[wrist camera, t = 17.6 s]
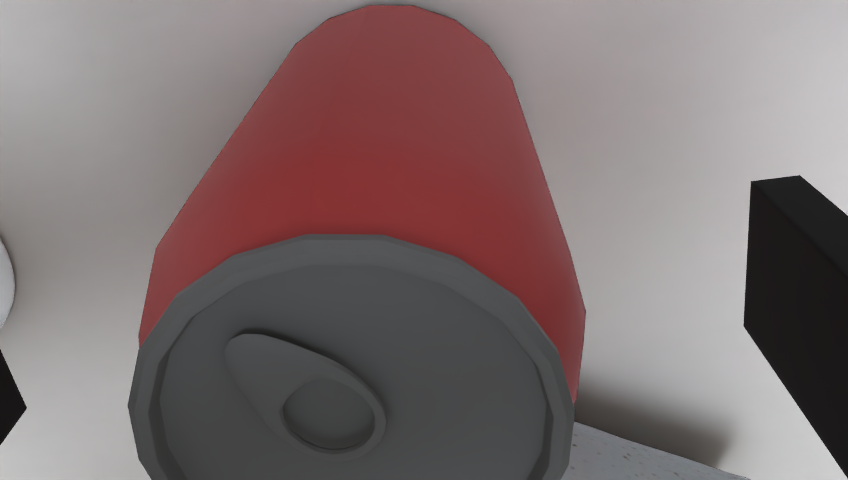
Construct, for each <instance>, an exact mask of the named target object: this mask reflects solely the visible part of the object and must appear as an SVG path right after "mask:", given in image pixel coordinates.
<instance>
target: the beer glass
mask: <svg viewBox="0 0 848 480" xmlns="http://www.w3.org/2000/svg"><path fill="white" fill-rule="evenodd" d="M14 292H15V281H14V273H13V268H12V264H11V261H10V258H9V256H8V253H7V251H6V249H5V247H4V245H3V243H2V241H1V239H0V328H1V327H2V325H3V324H4V322H5V321H6V319H7V317H8V314H9V312H10V310H11V307H12V304H13V300H14Z"/></svg>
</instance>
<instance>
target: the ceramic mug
mask: <svg viewBox="0 0 848 480" xmlns="http://www.w3.org/2000/svg"><path fill="white" fill-rule="evenodd" d="M561 480H750V479H748V478H746V477H742V476H738V475H735V474H731V473H728V472H724V471H721V470H718V469H716V468H713V467H710V466H707V465H704V464H701V463H698V462H695V461H692V460H689V459H686V458H683V457H680V456H677V455H674V454H671V453H667V452H664V451H661V450H658V449H655V448H651V447H648V446H645V445H642V444H639V443H635V442H632V441H629V440H626V439H623V438H620V437H617V436H614V435H612V434H609V433H606V432H604V431H601V430H598V429H595V428H593V427H590V426H586V425H583V424H580V423H577V422H574V425H573V433H572V442H571V450H570V459H569V465H568V467H567V469H566V471H565V473H564V474H563V476H562V478H561Z"/></svg>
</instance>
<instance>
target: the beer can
mask: <svg viewBox="0 0 848 480" xmlns="http://www.w3.org/2000/svg"><path fill="white" fill-rule="evenodd" d="M585 315H586V310H585V307H584V303H583V299H582V295H581V292H580V288H579V284H578V280H577V276H576V273H575V269H574V265H573V261H572V257H571V254H570V250H569V247H568V244H567V241H566V239H565V236H564V233H563V230H562V227H561V224H560V221H559V218H558V215H557V212H556V209H555V206H554V203H553V200H552V197H551V194H550V191H549V188H548V185H547V182H546V179H545V176H544V173H543V170H542V168H541V165H540V162H539V159H538V156H537V153H536V150H535V147H534V144H533V141H532V138H531V135H530V132H529V129H528V126H527V123H526V120H525V117H524V114H523V111H522V108H521V105H520V102H519V100H518V97H517V94H516V91H515V88H514V85H513V82H512V79H511V78H510V77H509V75H508V74H507V72H506V71H505V69H504V68H503V66H502V65H501V63H500V62H499V60H498V59H497V57H496V56H495V54H494V53H493V51H492V50H491V48H490V47H489V46H488V45H487V44H486V43H484V42H483V41H482V40H480V39H479V38H478V37H477V36H475V35H474V34H473V33H471V32H470V31H469V30H467V29H466V28H465V27H463V26H462V25H461V24H459V23H458V22H457V21H456V20H454V19H451V18H448V17H445V16H442V15H439V14H436V13H433V12H430V11H427V10H424V9H422V8H419V7H416V6H385V5H369V6H366V7H363V8H360V9H357V10H354V11H351V12H348V13H345V14H342V15H339V16H336V17H333V18H330V19H328V20H327V21H325V22H324V23H323V24H321V25H320V26H319V27H317V28H316V29H315V30H313V31H312V32H311V33H310V34H308V35H307V36H306V37H304V38H303V39H302V40H300V41H299V42H298V43H296V44H295V46H294V47H293V49H292V50H291V51H290V53H289V54H288V56H287V57H286V59H285V60H284V61H283V63H282V64H281V66H280V67H279V69H278V70H277V72H276V73H275V74H274V76H273V77H272V79H271V80H270V82H269V83H268V84H267V86H266V87H265V89H264V90H263V92H262V93H261V94H260V96H259V97H258V99H257V100H256V102H255V103H254V105H253V106H252V107H251V109H250V110H249V112H248V113H247V115H246V116H245V117H244V119H243V120H242V122H241V123H240V125H239V126H238V128H237V129H236V130H235V132H234V133H233V135H232V136H231V138H230V139H229V140H228V142H227V143H226V145H225V146H224V148H223V149H222V151H221V152H220V153H219V155H218V156H217V158H216V159H215V161H214V162H213V163H212V165H211V166H210V168H209V169H208V171H207V172H206V174H205V175H204V176H203V178H202V179H201V181H200V182H199V184H198V185H197V186H196V188H195V189H194V191H193V192H192V194H191V195H190V197H189V198H188V200H187V201H186V203H185V204H184V206H183V207H182V209H181V210H180V212H179V214H178V215H177V217H176V218H175V220H174V221H173V223H172V224H171V226H170V227H169V229H168V230H167V232H166V233H165V235H164V236H163V238H162V240H161V241H160V243H159V244H158V246H157V247H156V250H155V255H154V260H153V265H152V270H151V274H150V279H149V285H148V290H147V295H146V300H145V305H144V310H143V315H142V320H141V325H140V330H139V351H138V356H137V361H136V366H135V371H134V376H133V382H132V387H131V392H130V397H129V402H128V409H129V414H130V419H131V424H132V429H133V433H134V438H135V443H136V448H137V452H138V457H139V460H140V462H141V464H142V465H143V467H144V468H145V470H146V472H147V473H148V475H149V476H150V478H151V480H561V478H562V476H563V474H564V473H565V471H566V469H567V467H568V465H569V459H570V450H571V442H572V433H573V425H574V416H575V408H574V404H575V401H576V398H577V392H578V384H579V376H580V367H581V359H582V350H583V342H584V329H585Z"/></svg>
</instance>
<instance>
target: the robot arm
mask: <svg viewBox="0 0 848 480" xmlns="http://www.w3.org/2000/svg"><path fill="white" fill-rule="evenodd" d="M744 327H745V329H746V330H747V332H748V333H749V335H750V336H751V338H752V339H753V340H754V342H755V343H756V345H757V346H758V348H759V349H760V351H761V352H762V354H763V355H764V357H765V358H766V360H767V361H768V362H769V364H770V365H771V367H772V368H773V370H774V371H775V373H776V374H777V376H778V377H779V379H780V380H781V381H782V383H783V384H784V386H785V387H786V389H787V390H788V392H789V393H790V395H791V396H792V398H793V399H794V400H795V402H796V403H797V405H798V406H799V408H800V409H801V411H802V412H803V414H804V415H805V417H806V418H807V420H808V421H809V422H810V424H811V425H812V427H813V428H814V430H815V431H816V433H817V434H818V436H819V437H820V439H821V440H822V441H823V443H824V444H825V446H826V447H827V449H828V450H829V452H830V453H831V455H832V456H833V458H834V459H835V461H836V462H837V463H838V465H839V466H840V468H841V469H842V471H843V472H844V474H845V475H846V477H847V478H848V216H847V215H846V214H845V213H844V212H843V211H841V210H840V209H839V208H838V207H837V206H836V205H834V204H833V203H832V202H831V201H830V200H828V199H827V198H826V197H825V196H824V195H823V194H821V193H820V192H819V191H818V190H817V189H815V188H814V187H813V186H812V185H811V184H809V183H808V182H807V181H806V180H805V179H804V178H802V177H801V176H800V175H798V176H790V177H782V178H774V179H766V180H758V181H751V192H750V212H749V231H748V251H747V270H746V290H745V310H744ZM26 409H27V407H26V405H25V403H24V401H23V398H22V396H21V394H20V392H19V390H18V387H17V385H16V383H15V381H14V379H13V376H12V374H11V372H10V370H9V368H8V365H7V363H6V361H5V359H4V357H3V354H2V352H1V350H0V445H1V443H2V442H3V441H4V439H5V438H6V436H7V435H8V434H9V432H10V431H11V430H12V428H13V427H14V425H15V424H16V423H17V421H18V420H19V418H20V417H21V416H22V414H23V413H24V412H25V410H26Z"/></svg>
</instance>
